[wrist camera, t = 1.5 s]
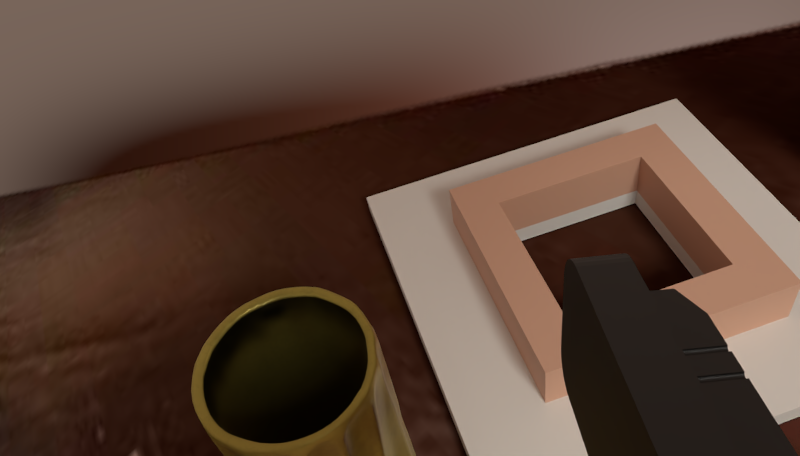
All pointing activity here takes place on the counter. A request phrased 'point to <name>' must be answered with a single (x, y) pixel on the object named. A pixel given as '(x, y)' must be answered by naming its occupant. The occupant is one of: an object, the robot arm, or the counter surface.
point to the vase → (298, 380)
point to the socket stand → (532, 299)
